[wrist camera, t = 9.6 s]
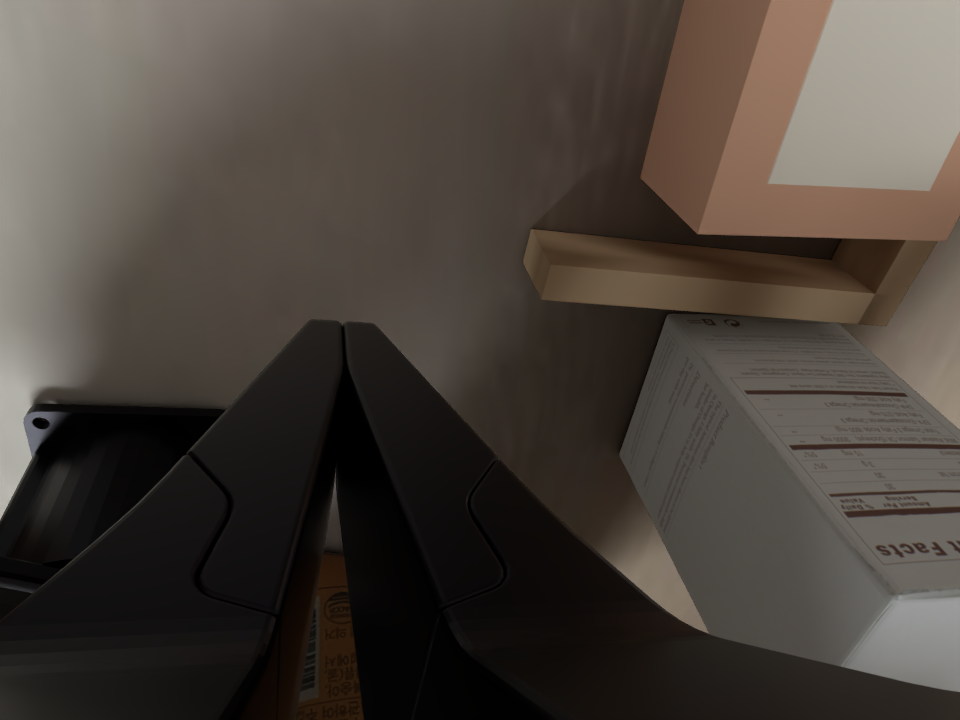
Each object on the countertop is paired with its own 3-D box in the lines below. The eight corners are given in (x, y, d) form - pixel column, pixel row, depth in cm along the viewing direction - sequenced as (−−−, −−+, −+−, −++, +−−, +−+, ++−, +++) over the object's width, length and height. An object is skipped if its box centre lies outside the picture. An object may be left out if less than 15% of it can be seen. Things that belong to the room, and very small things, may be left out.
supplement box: (764, 453, 30) (979, 740, 20) (612, 454, 29) (765, 768, 19) (838, 313, 26) (1152, 586, 16) (666, 304, 25) (898, 603, 15)
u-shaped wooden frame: (522, 262, 23) (541, 299, 21) (700, -470, 14) (764, -531, 12) (843, 291, 26) (885, 326, 24) (1158, -287, 17) (1270, -309, 15)
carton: (637, 174, 22) (698, 235, 18) (737, -233, 16) (855, -265, 12) (851, 184, 23) (947, 242, 20) (1011, -182, 18) (1186, -197, 14)
